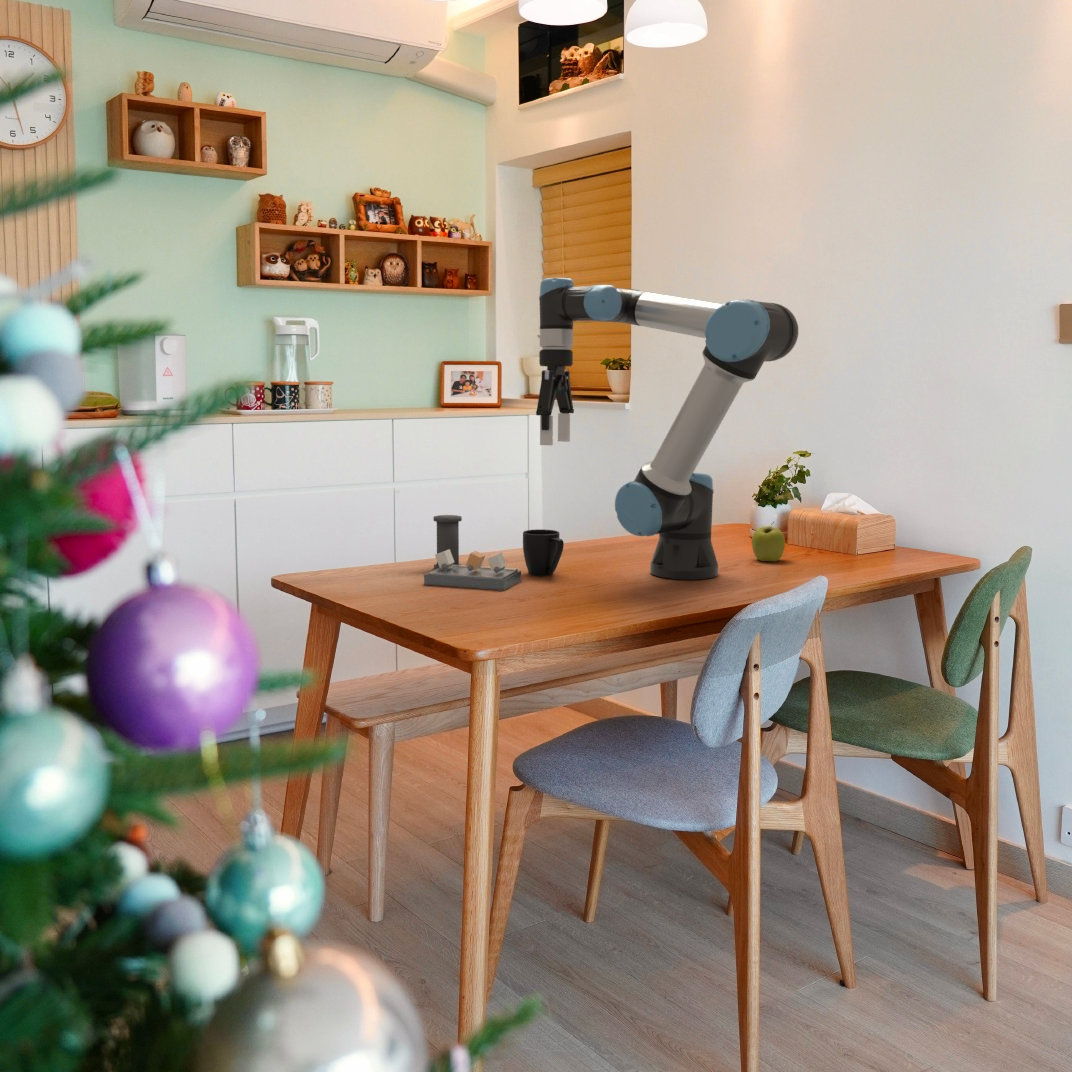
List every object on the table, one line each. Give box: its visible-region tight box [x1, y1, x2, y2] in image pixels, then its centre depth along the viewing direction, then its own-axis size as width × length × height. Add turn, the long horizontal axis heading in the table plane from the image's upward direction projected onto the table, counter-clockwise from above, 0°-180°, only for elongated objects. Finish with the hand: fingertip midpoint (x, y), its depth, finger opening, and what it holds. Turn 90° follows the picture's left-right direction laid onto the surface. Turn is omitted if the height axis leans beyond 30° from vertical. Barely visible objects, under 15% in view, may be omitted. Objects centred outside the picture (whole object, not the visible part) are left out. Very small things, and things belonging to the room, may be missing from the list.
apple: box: [751, 521, 786, 562], centre depth 257 cm, size 8×8×10 cm
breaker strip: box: [423, 564, 522, 591], centre depth 229 cm, size 18×11×3 cm, turn 72°
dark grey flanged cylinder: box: [433, 514, 463, 570], centre depth 244 cm, size 6×6×12 cm
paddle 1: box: [434, 549, 454, 569], centre depth 230 cm, size 2×4×4 cm, turn 161°
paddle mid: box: [465, 550, 486, 571], centre depth 228 cm, size 2×4×4 cm, turn 163°
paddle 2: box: [486, 552, 508, 573], centre depth 226 cm, size 2×4×4 cm, turn 161°
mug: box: [522, 529, 565, 577], centre depth 237 cm, size 8×12×10 cm
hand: (555, 443), depth 243 cm, fingers open, 13 cm apart
